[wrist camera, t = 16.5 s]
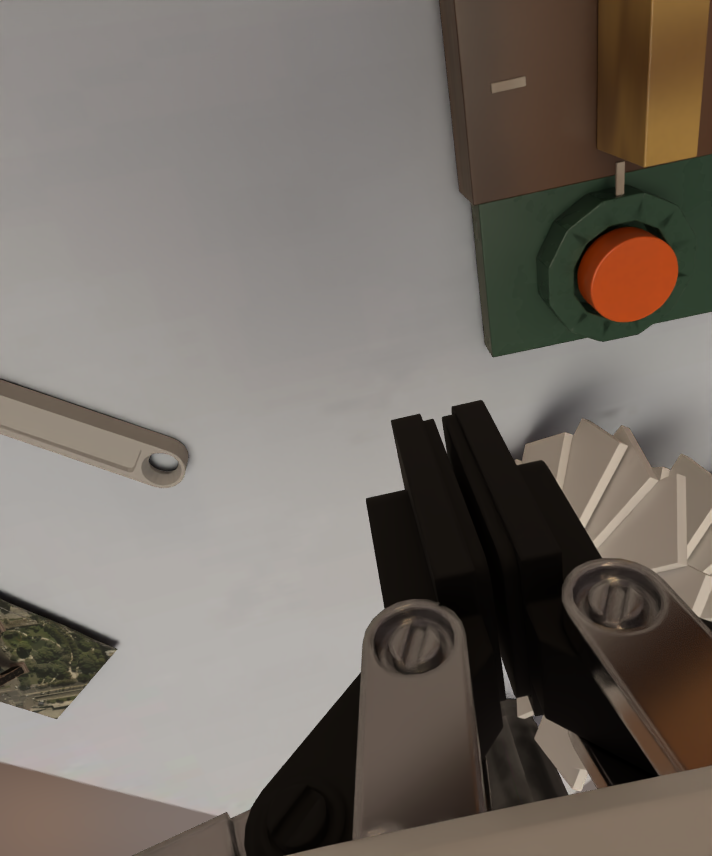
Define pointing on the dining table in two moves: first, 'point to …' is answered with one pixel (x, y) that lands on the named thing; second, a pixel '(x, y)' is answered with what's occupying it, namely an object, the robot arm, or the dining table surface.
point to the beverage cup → (520, 764)
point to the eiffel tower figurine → (44, 661)
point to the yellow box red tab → (650, 78)
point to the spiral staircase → (629, 530)
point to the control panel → (532, 96)
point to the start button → (627, 274)
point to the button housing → (567, 243)
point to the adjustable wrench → (88, 436)
